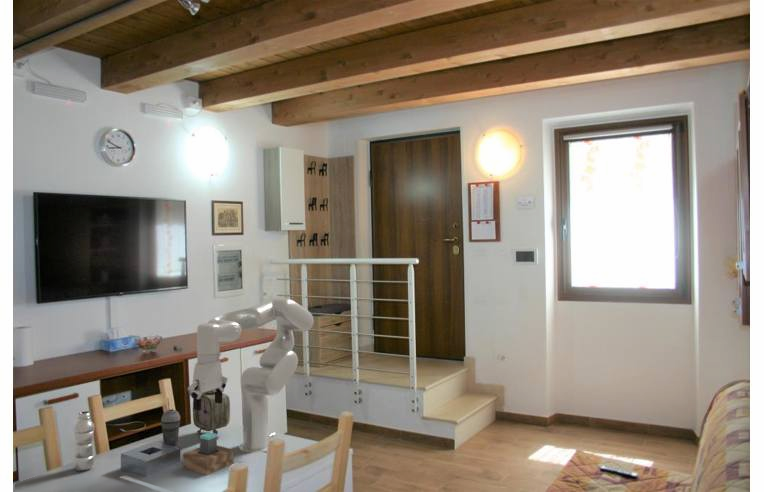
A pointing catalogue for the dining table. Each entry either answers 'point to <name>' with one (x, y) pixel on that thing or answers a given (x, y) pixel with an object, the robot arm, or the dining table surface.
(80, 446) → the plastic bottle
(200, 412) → the tabletop clock
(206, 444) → the plug
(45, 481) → the dining table surface
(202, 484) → the dining table surface
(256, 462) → the dining table surface
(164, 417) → the beverage cup
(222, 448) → the wooden square hole block
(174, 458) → the socket block
